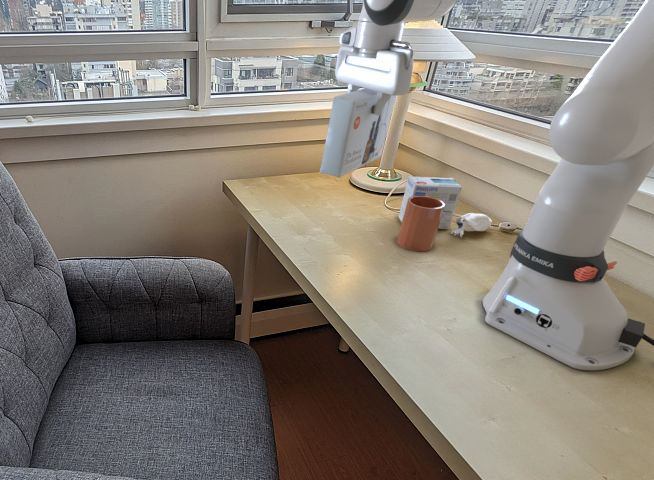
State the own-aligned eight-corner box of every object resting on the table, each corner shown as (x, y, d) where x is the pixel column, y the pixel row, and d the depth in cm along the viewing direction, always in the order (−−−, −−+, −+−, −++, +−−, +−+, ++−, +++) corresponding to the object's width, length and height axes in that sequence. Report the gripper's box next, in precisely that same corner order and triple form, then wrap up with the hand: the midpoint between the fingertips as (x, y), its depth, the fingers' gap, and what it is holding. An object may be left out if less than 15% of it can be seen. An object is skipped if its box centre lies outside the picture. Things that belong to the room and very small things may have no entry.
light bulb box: (440, 218, 119) (453, 176, 113) (449, 230, 114) (464, 186, 108) (396, 216, 120) (407, 175, 114) (403, 228, 115) (415, 184, 109)
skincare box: (341, 179, 102) (355, 100, 93) (318, 173, 105) (330, 96, 96) (383, 157, 115) (399, 85, 106) (362, 152, 118) (376, 82, 109)
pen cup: (439, 248, 106) (452, 205, 101) (413, 253, 104) (425, 210, 98) (415, 234, 112) (426, 193, 106) (389, 239, 109) (400, 198, 104)
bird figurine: (470, 246, 110) (497, 227, 113) (469, 220, 106) (497, 201, 109) (450, 242, 114) (477, 223, 117) (449, 216, 110) (477, 198, 113)
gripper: (428, 42, 88) (410, 120, 96) (359, 33, 104) (348, 100, 112) (401, 43, 86) (384, 122, 94) (335, 34, 102) (325, 102, 110)
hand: (364, 110), depth 103 cm, fingers closed on skincare box, 6 cm apart
